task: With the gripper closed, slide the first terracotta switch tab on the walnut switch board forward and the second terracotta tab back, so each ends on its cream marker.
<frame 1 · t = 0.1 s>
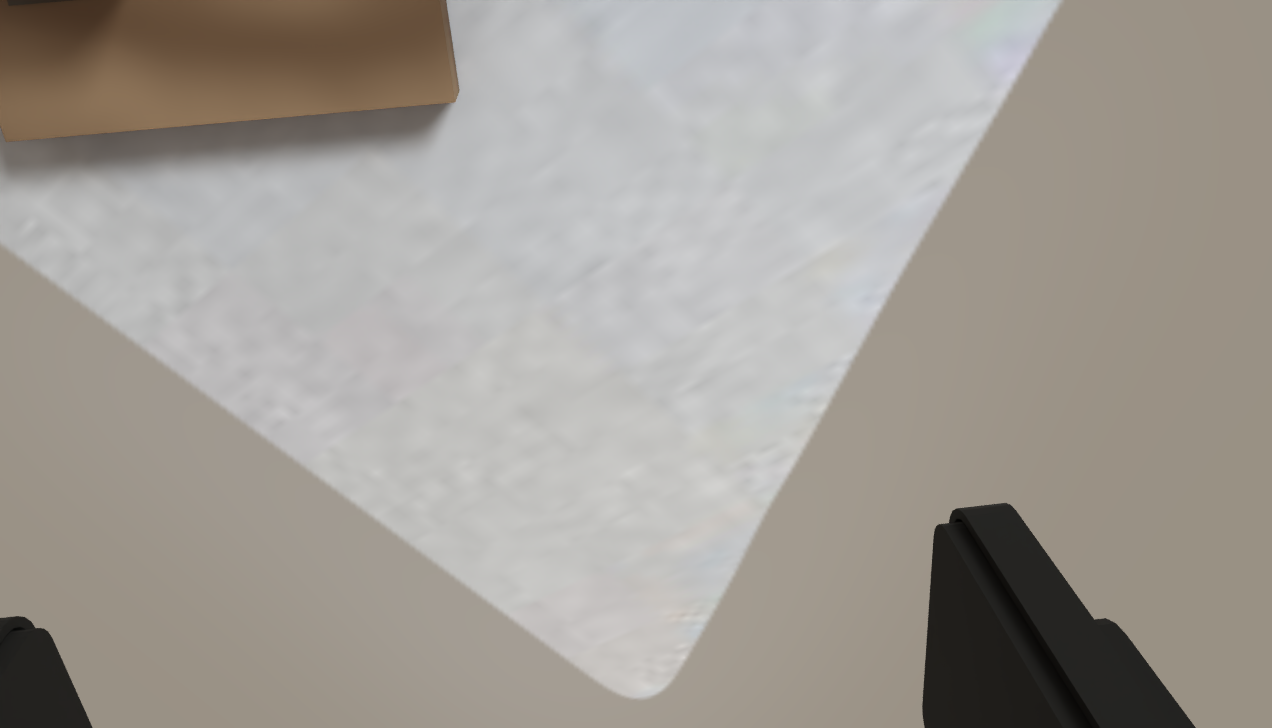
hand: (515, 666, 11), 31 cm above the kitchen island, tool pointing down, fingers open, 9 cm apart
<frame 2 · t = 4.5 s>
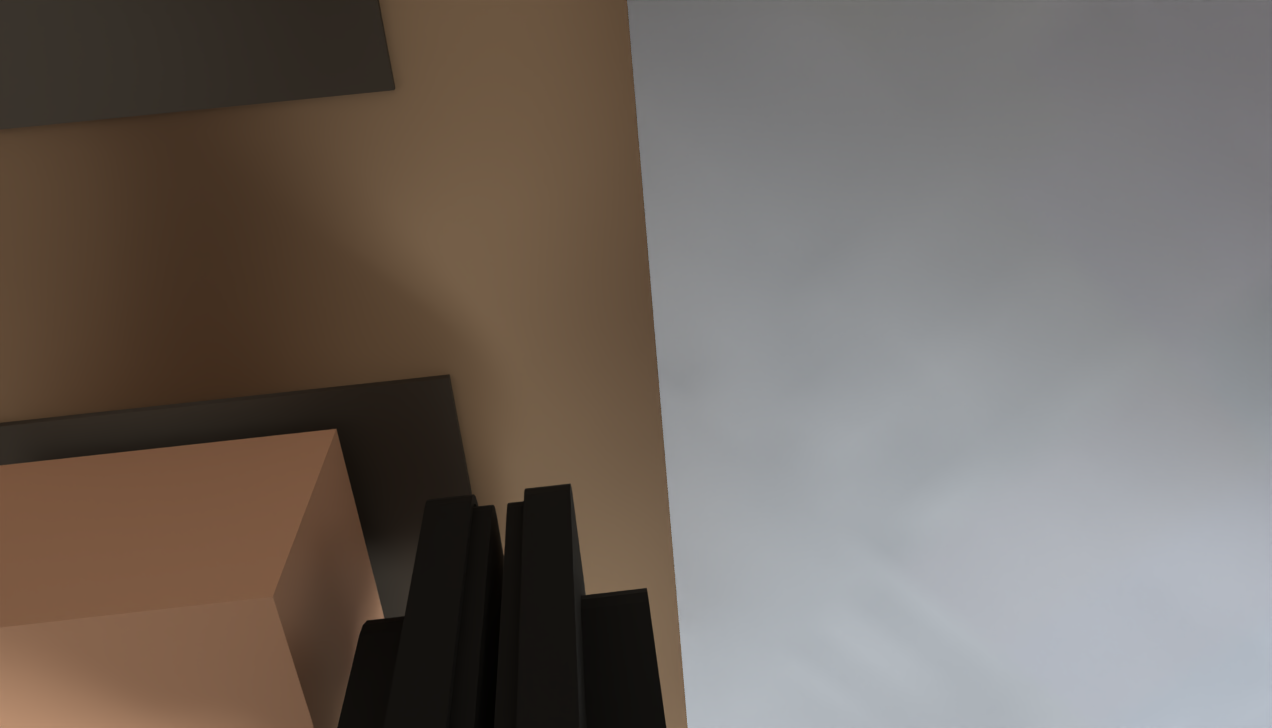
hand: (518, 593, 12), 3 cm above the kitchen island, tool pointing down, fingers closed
tab one: (170, 669, 11), point 4 cm above the kitchen island, slide at 0.8 cm, touching gripper
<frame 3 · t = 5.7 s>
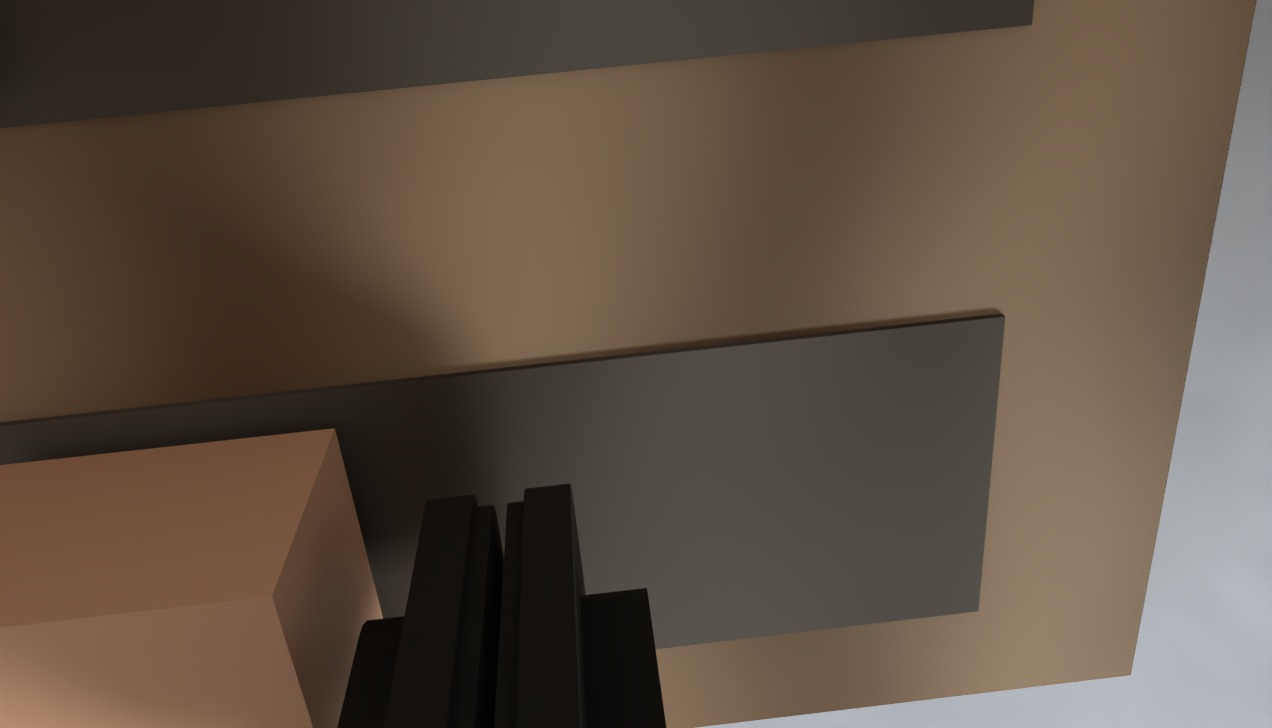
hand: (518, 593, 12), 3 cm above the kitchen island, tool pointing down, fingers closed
tab one: (168, 669, 11), point 4 cm above the kitchen island, slide at 7.6 cm, touching gripper
switch board: (306, 201, 13), on the kitchen island
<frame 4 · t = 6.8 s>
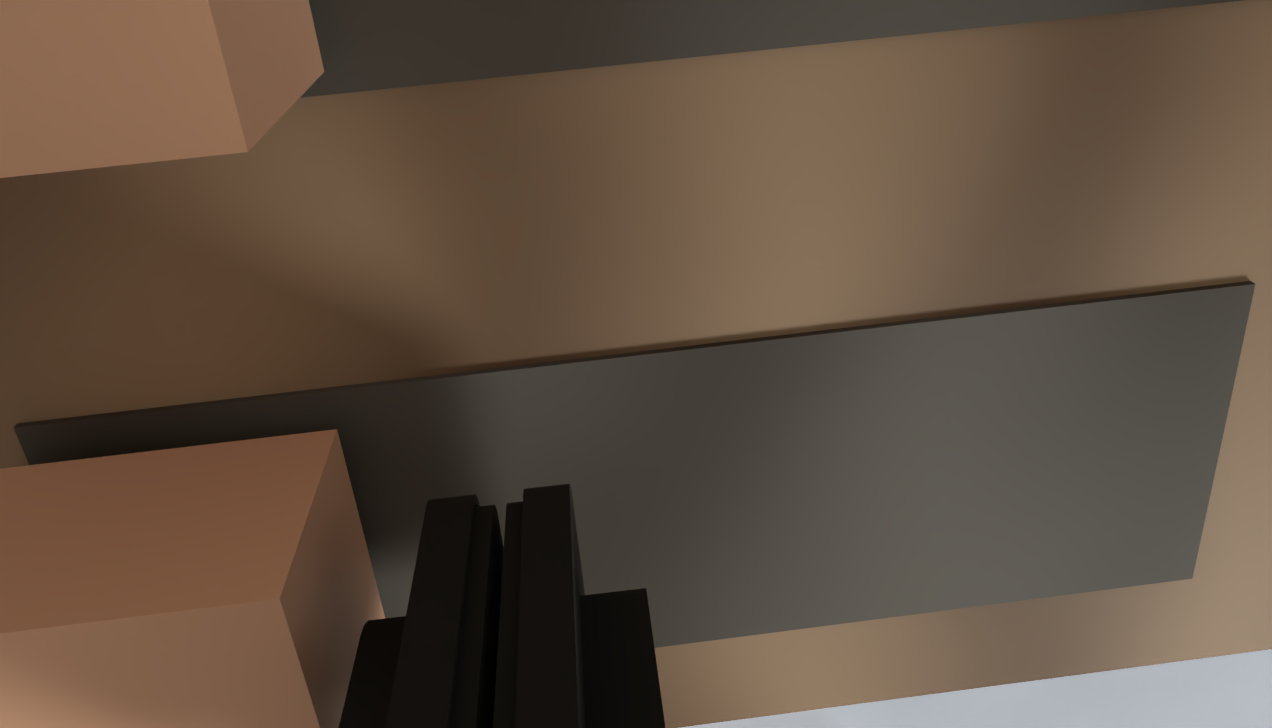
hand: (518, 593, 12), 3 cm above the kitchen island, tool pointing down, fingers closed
tab one: (172, 673, 11), point 4 cm above the kitchen island, slide at 10.7 cm, touching gripper
switch board: (548, 175, 13), on the kitchen island
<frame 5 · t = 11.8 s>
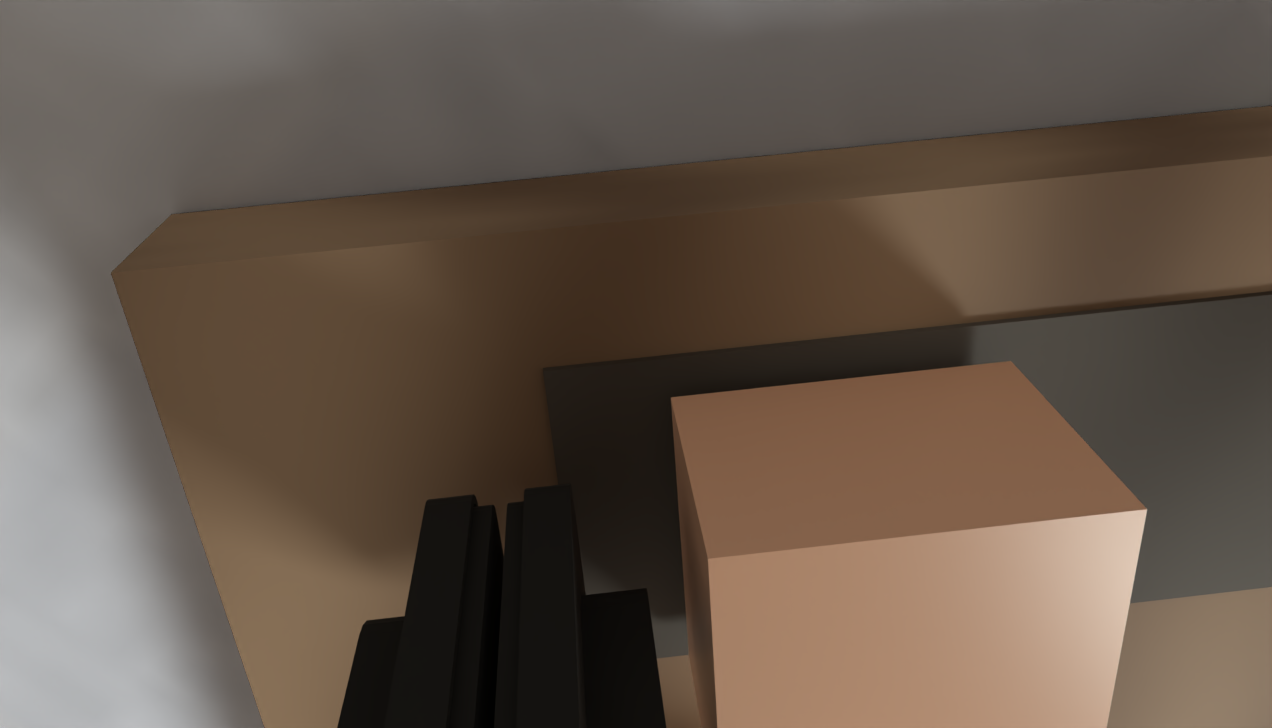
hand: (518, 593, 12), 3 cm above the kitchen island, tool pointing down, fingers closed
switch board: (978, 608, 17), on the kitchen island
tab two: (874, 598, 11), point 4 cm above the kitchen island, slide at 9.0 cm, touching gripper
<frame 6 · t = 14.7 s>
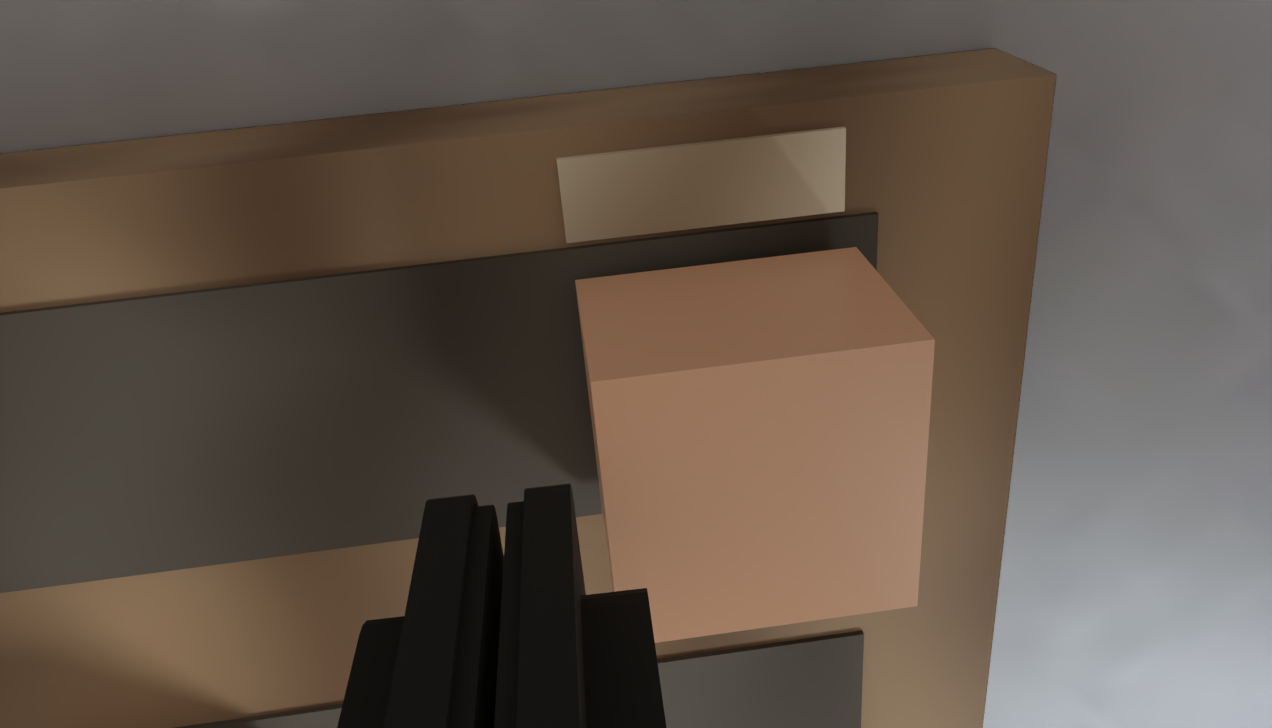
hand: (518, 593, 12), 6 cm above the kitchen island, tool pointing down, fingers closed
switch board: (385, 550, 19), on the kitchen island
tab two: (742, 439, 14), point 4 cm above the kitchen island, slide at -0.1 cm
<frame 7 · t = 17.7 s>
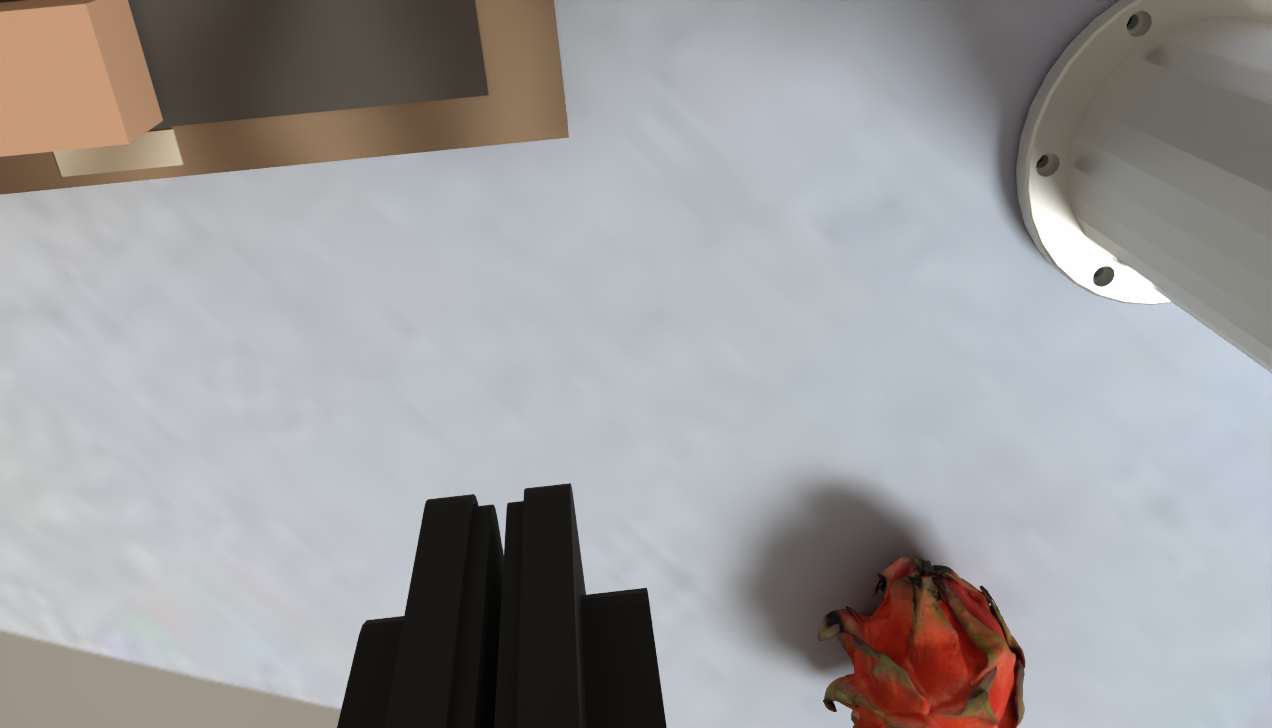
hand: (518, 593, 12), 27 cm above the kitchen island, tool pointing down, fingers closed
tab one: (60, 72, 31), point 4 cm above the kitchen island, slide at 10.1 cm
dragon fruit: (895, 612, 49), on the kitchen island
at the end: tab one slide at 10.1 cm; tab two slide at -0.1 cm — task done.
